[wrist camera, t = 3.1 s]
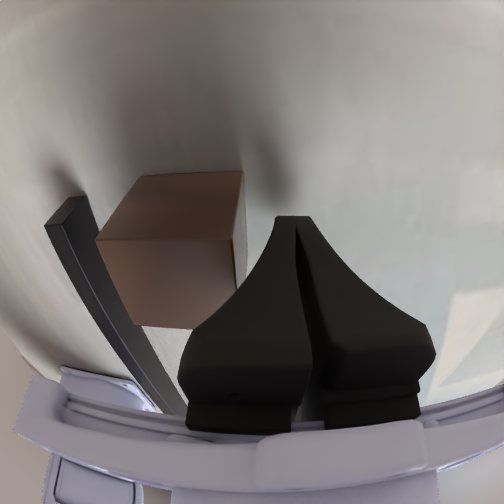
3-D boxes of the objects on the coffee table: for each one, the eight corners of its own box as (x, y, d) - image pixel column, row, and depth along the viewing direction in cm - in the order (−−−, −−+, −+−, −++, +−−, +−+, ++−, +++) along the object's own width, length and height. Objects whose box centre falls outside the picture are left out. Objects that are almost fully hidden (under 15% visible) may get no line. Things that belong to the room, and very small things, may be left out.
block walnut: (160, 254, 15) (133, 325, 11) (140, 175, 12) (93, 239, 8) (248, 255, 14) (241, 332, 11) (243, 170, 11) (232, 238, 8)
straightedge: (200, 436, 38) (199, 450, 36) (68, 196, 12) (43, 225, 11) (208, 437, 38) (206, 451, 36) (86, 195, 12) (61, 224, 10)
